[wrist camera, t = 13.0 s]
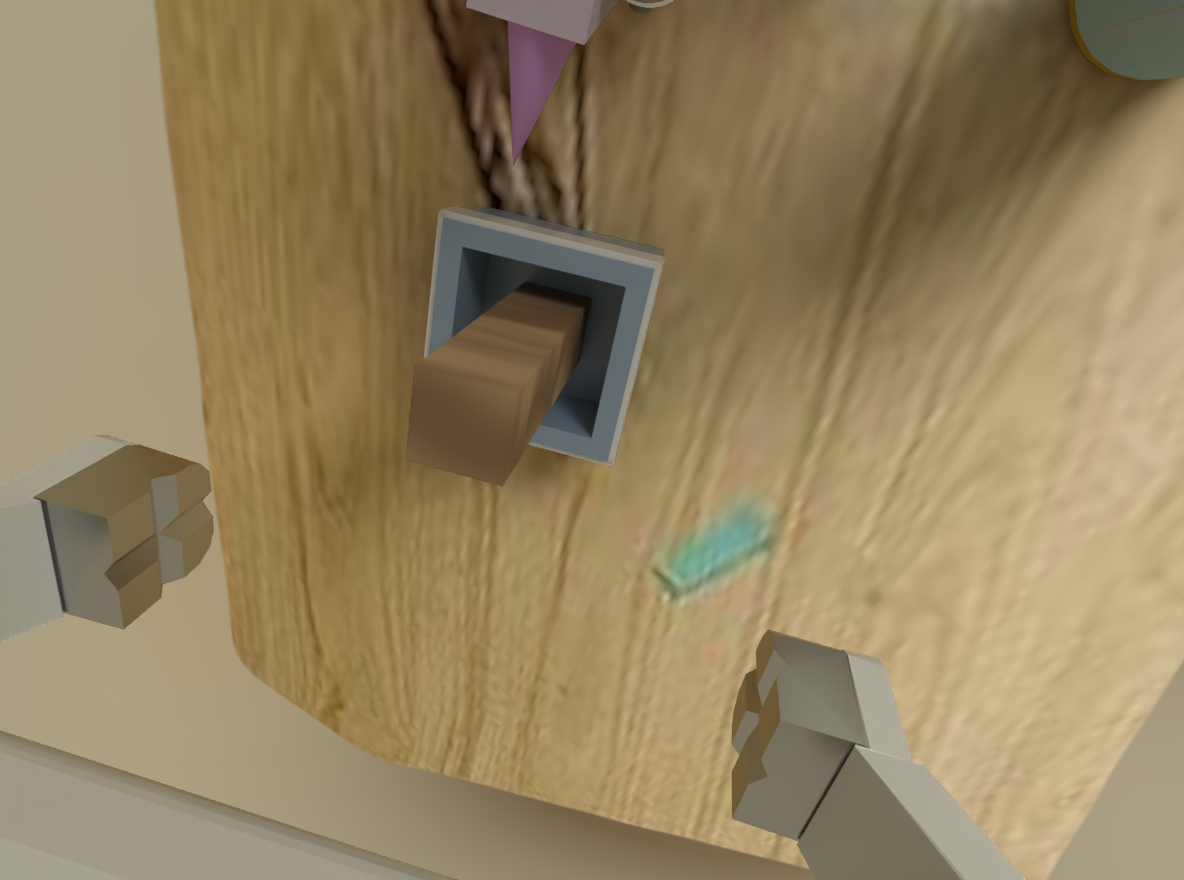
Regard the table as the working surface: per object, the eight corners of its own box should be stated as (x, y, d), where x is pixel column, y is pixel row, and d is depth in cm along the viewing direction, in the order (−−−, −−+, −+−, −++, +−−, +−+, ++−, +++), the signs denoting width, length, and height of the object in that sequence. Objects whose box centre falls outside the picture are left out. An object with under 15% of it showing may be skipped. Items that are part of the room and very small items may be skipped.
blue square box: (477, 198, 34) (437, 209, 29) (671, 245, 34) (663, 264, 29) (455, 380, 39) (416, 416, 34) (626, 425, 38) (612, 468, 33)
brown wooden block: (525, 281, 35) (414, 366, 22) (592, 297, 34) (518, 393, 22) (515, 346, 36) (405, 459, 24) (578, 362, 36) (502, 486, 23)
